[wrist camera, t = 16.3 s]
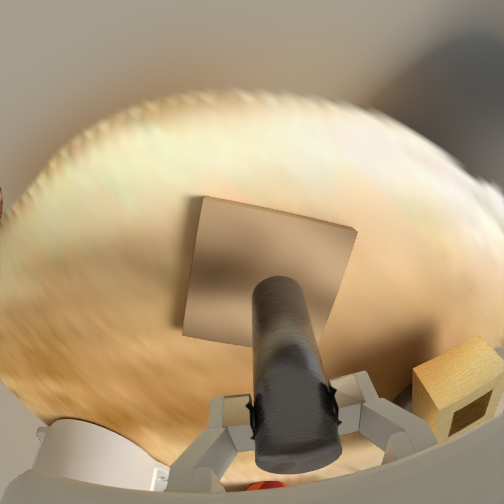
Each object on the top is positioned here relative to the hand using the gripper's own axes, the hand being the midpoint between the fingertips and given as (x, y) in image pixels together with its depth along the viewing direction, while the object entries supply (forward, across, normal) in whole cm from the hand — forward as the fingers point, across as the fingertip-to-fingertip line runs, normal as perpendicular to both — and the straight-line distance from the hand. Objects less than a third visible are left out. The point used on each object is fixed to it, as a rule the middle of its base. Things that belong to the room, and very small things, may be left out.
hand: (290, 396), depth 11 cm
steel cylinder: (+7, 0, 0) cm, 7 cm away
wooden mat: (+11, 0, 0) cm, 11 cm away
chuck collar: (+8, +15, -16) cm, 23 cm away
